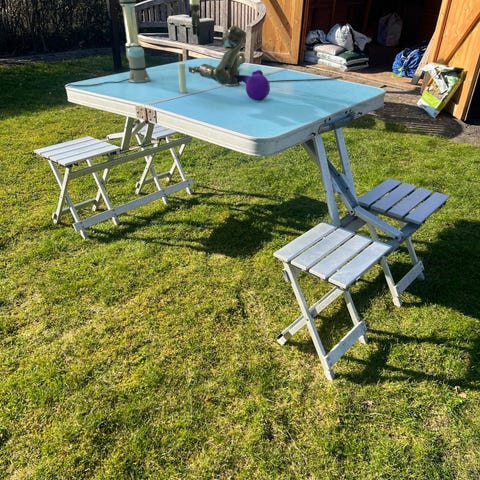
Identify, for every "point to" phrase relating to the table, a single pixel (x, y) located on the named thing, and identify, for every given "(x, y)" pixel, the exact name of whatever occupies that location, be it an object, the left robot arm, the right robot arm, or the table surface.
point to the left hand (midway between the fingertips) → (196, 35)
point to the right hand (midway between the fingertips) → (195, 67)
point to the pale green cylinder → (182, 80)
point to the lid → (181, 65)
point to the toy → (255, 85)
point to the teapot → (241, 59)
